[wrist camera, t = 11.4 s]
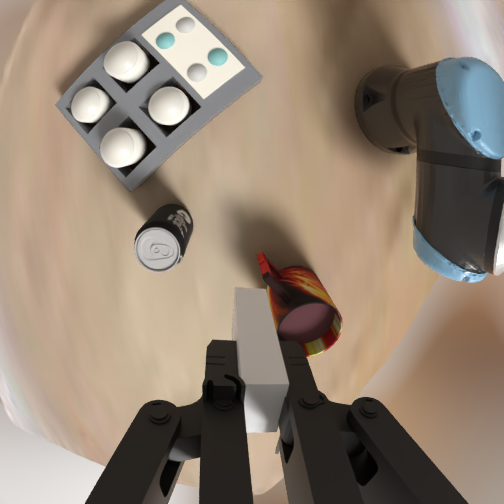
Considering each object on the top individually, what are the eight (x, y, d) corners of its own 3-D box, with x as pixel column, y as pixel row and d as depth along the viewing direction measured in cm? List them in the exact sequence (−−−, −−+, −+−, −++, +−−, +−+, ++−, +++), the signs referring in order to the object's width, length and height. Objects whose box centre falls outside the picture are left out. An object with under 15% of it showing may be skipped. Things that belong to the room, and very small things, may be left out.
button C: (136, 44, 33) (125, 33, 28) (157, 65, 35) (148, 56, 30) (110, 68, 34) (95, 61, 29) (130, 90, 36) (117, 84, 31)
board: (180, 4, 33) (175, -9, 29) (259, 82, 40) (263, 76, 35) (68, 106, 38) (53, 104, 33) (138, 186, 44) (129, 192, 39)
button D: (102, 84, 37) (88, 79, 32) (121, 105, 38) (108, 102, 33) (80, 109, 37) (64, 106, 33) (98, 130, 39) (83, 129, 34)
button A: (176, 85, 38) (170, 78, 33) (198, 109, 40) (195, 105, 35) (150, 109, 39) (140, 105, 34) (172, 133, 41) (164, 132, 36)
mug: (258, 247, 49) (267, 281, 38) (330, 277, 52) (354, 313, 40) (234, 297, 52) (236, 339, 40) (304, 321, 55) (320, 363, 43)
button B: (131, 121, 37) (119, 119, 32) (154, 146, 39) (144, 147, 34) (107, 147, 38) (92, 148, 33) (129, 171, 40) (116, 176, 35)
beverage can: (155, 200, 45) (132, 220, 33) (196, 206, 46) (186, 228, 34) (151, 240, 47) (129, 271, 36) (191, 246, 48) (180, 279, 37)
